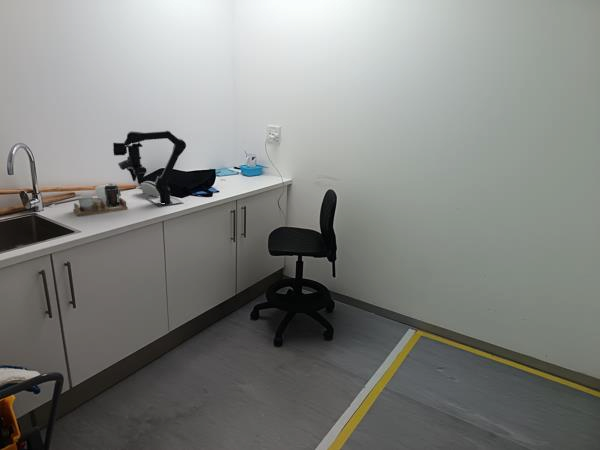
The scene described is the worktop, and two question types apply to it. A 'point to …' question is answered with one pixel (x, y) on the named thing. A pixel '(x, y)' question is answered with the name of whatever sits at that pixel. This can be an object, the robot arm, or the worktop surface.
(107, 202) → the beverage can
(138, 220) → the worktop surface
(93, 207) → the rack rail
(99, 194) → the shelf bracket
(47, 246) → the worktop surface
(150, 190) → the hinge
